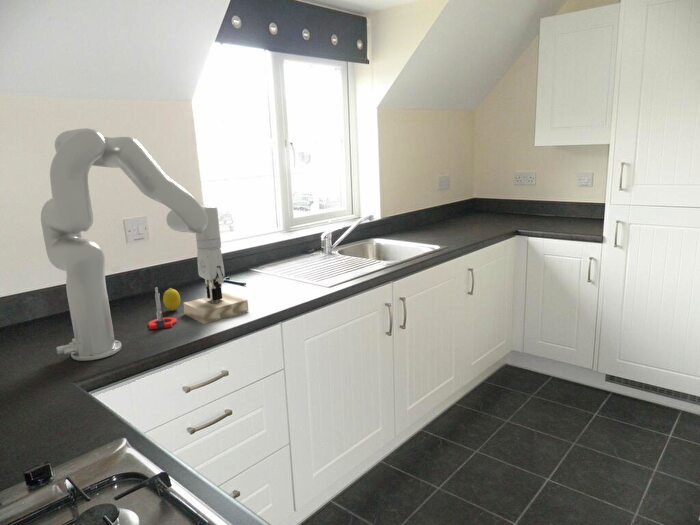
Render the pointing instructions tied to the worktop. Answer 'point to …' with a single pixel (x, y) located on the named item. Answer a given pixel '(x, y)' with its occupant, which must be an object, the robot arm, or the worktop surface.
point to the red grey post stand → (160, 316)
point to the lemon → (171, 299)
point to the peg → (211, 293)
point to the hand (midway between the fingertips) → (214, 298)
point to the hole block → (215, 308)
